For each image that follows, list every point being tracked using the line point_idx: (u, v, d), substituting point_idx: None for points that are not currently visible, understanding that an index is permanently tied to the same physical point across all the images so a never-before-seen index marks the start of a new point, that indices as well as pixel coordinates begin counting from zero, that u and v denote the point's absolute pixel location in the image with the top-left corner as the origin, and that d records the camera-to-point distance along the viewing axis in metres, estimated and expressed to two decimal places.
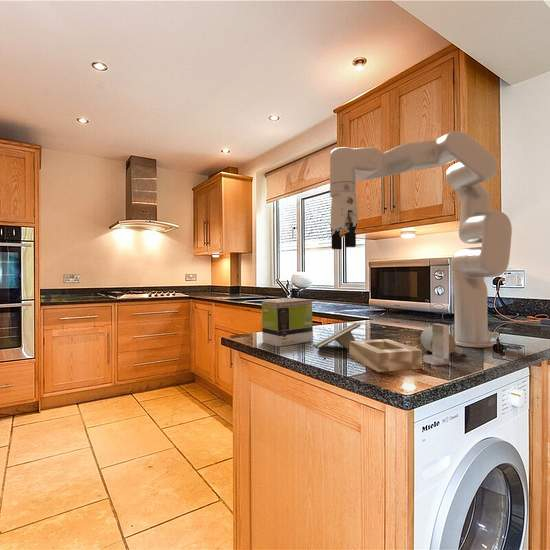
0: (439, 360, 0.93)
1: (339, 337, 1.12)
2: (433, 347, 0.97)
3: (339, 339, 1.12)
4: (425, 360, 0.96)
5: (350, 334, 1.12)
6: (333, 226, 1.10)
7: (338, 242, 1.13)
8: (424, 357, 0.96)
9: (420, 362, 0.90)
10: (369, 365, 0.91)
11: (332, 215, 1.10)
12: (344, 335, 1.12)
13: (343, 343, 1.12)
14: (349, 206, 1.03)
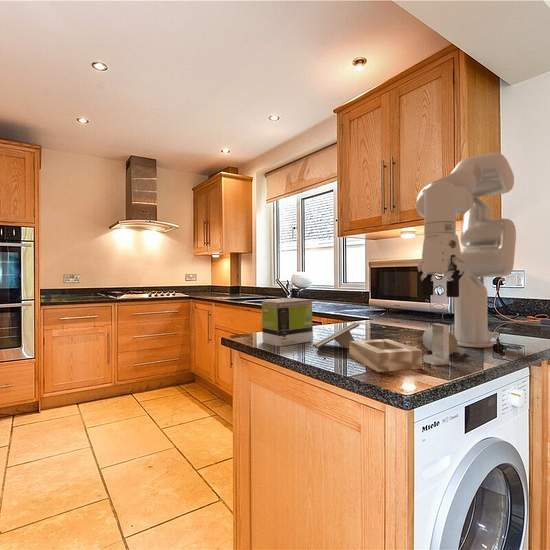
0: (439, 360, 0.93)
1: (338, 337, 1.12)
2: (433, 347, 0.97)
3: (338, 339, 1.13)
4: (425, 360, 0.96)
5: (349, 334, 1.13)
6: (426, 270, 0.97)
7: (430, 287, 0.99)
8: (424, 357, 0.96)
9: (420, 362, 0.90)
10: (369, 365, 0.91)
11: (425, 257, 0.97)
12: (343, 335, 1.13)
13: (342, 343, 1.12)
14: (452, 250, 0.90)
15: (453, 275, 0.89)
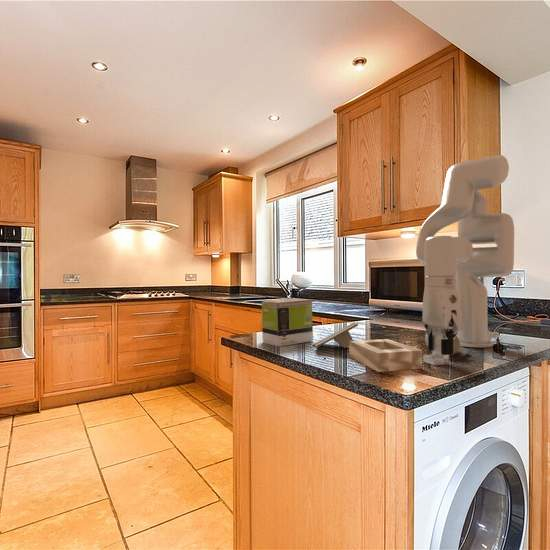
0: (439, 360, 0.93)
1: (337, 336, 1.13)
2: (433, 347, 0.97)
3: (337, 338, 1.13)
4: (425, 360, 0.96)
5: (348, 333, 1.13)
6: (427, 321, 0.97)
7: None
8: (424, 357, 0.96)
9: (420, 362, 0.90)
10: (369, 365, 0.91)
11: (426, 309, 0.97)
12: (342, 334, 1.13)
13: (341, 342, 1.13)
14: (452, 305, 0.91)
15: (448, 336, 0.91)
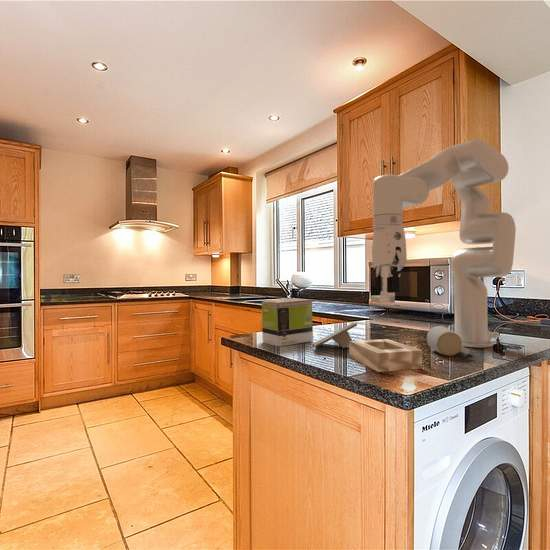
0: (385, 298, 0.94)
1: (336, 336, 1.14)
2: (381, 287, 0.98)
3: (336, 338, 1.14)
4: (372, 300, 0.97)
5: (347, 333, 1.14)
6: (376, 262, 0.98)
7: None
8: (372, 297, 0.97)
9: (420, 362, 0.90)
10: (369, 365, 0.91)
11: (374, 250, 0.98)
12: (341, 334, 1.14)
13: (339, 342, 1.14)
14: (397, 242, 0.91)
15: (393, 273, 0.92)
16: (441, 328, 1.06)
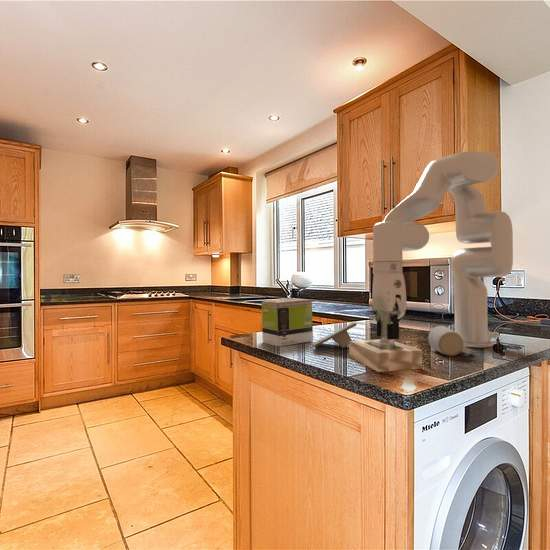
0: (384, 344, 0.94)
1: (335, 336, 1.14)
2: (381, 332, 0.98)
3: (335, 338, 1.14)
4: (372, 345, 0.97)
5: (346, 333, 1.14)
6: (376, 307, 0.98)
7: None
8: (372, 342, 0.97)
9: (420, 362, 0.90)
10: (369, 365, 0.91)
11: (374, 294, 0.98)
12: (340, 334, 1.14)
13: (339, 342, 1.14)
14: (397, 290, 0.91)
15: (393, 320, 0.92)
16: (443, 328, 1.06)
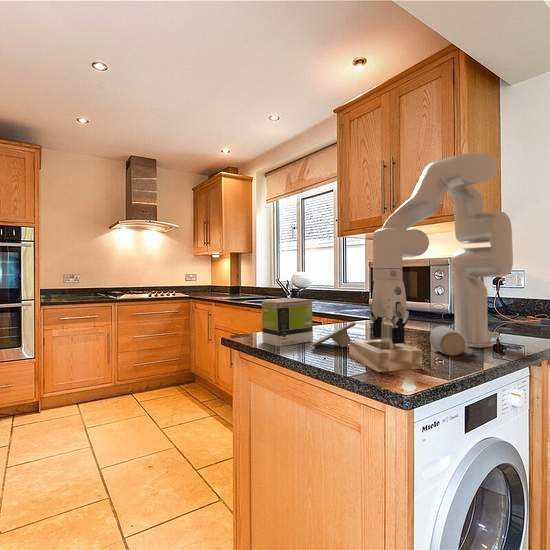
0: None
1: (334, 336, 1.15)
2: (381, 346, 0.98)
3: (334, 338, 1.15)
4: None
5: (345, 333, 1.14)
6: (376, 313, 0.98)
7: (380, 329, 1.01)
8: None
9: (420, 362, 0.90)
10: (369, 365, 0.91)
11: (375, 301, 0.98)
12: (339, 334, 1.15)
13: (338, 342, 1.14)
14: (397, 297, 0.91)
15: (397, 323, 0.90)
16: (444, 328, 1.06)
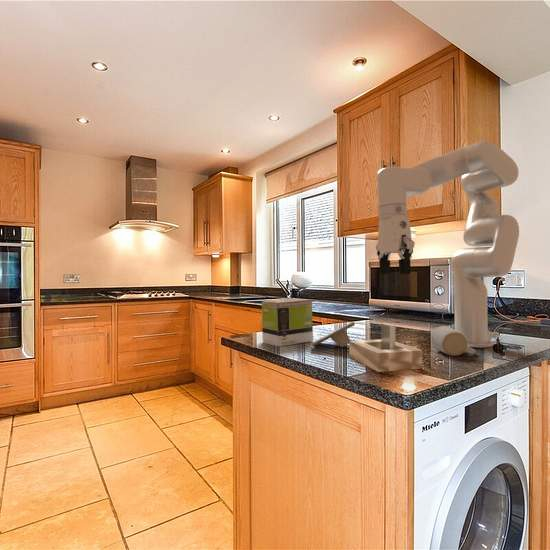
0: None
1: (333, 335, 1.15)
2: (381, 346, 0.98)
3: (333, 337, 1.15)
4: None
5: (344, 333, 1.15)
6: (382, 250, 1.03)
7: (387, 266, 1.06)
8: None
9: (420, 362, 0.90)
10: (369, 365, 0.91)
11: (381, 238, 1.03)
12: (338, 334, 1.15)
13: (337, 341, 1.15)
14: (402, 230, 0.97)
15: (404, 254, 0.96)
16: (446, 328, 1.06)
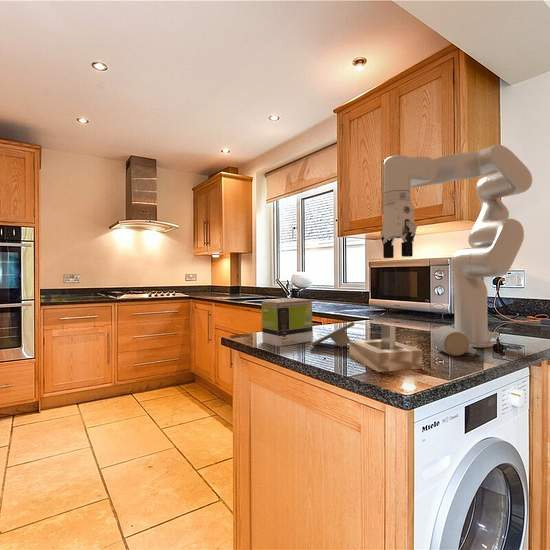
0: None
1: (333, 335, 1.15)
2: (381, 346, 0.98)
3: (333, 337, 1.15)
4: None
5: (344, 333, 1.15)
6: (386, 235, 1.09)
7: (390, 251, 1.11)
8: None
9: (420, 362, 0.90)
10: (369, 365, 0.91)
11: (385, 224, 1.09)
12: (338, 333, 1.15)
13: (337, 341, 1.15)
14: (406, 215, 1.02)
15: (406, 237, 1.01)
16: (448, 328, 1.06)
